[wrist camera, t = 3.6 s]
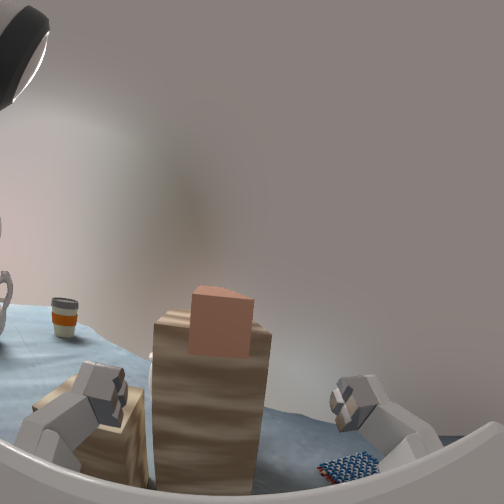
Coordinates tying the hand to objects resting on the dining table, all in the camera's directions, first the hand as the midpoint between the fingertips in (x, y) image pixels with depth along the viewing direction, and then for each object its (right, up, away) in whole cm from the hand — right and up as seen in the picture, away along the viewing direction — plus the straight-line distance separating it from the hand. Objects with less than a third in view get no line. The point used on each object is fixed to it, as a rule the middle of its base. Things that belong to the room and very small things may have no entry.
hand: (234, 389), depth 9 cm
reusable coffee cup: (-78, -30, +85) cm, 119 cm away
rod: (-4, -3, +22) cm, 22 cm away
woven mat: (+17, -32, +23) cm, 43 cm away
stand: (-7, -29, +23) cm, 38 cm away
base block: (-19, -27, +13) cm, 35 cm away
